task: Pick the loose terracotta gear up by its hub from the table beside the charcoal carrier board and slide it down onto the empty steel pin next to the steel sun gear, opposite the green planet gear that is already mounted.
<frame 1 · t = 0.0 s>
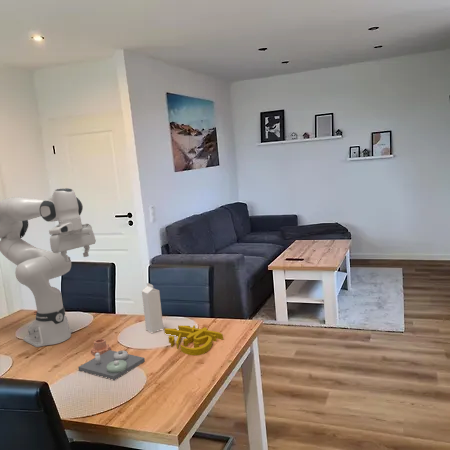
hand: (77, 259, 180), 39 cm above the table, tool pointing down, fingers open, 8 cm apart
decorative art: (187, 341, 184), on the table
milk: (154, 330, 199), on the table
carrier: (112, 365, 165), on the table
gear: (101, 351, 180), on the table
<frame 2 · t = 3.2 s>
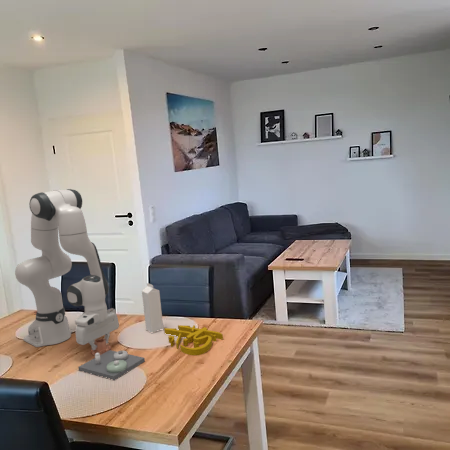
hand: (100, 346, 180), 2 cm above the table, tool pointing down, fingers closed on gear, 5 cm apart
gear: (101, 351, 180), on the table, touching gripper
everything else where it was.
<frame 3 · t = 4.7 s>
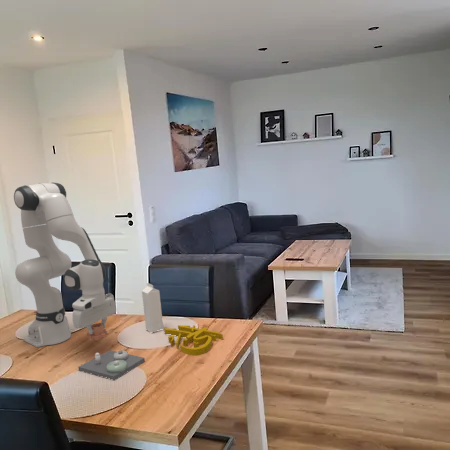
hand: (97, 330, 179), 9 cm above the table, tool pointing down, fingers closed on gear, 5 cm apart
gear: (97, 335, 180), point 7 cm above the table, touching gripper
everything else where it was.
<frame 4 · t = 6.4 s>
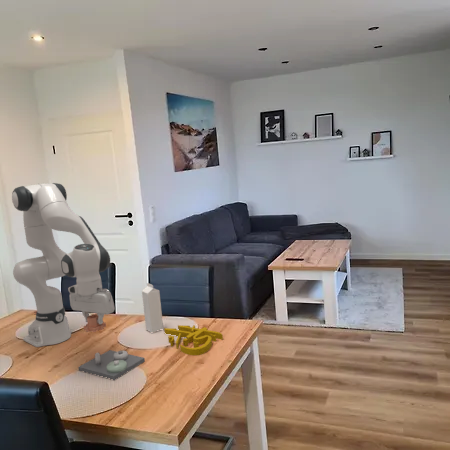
hand: (94, 322, 163), 18 cm above the table, tool pointing down, fingers closed on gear, 5 cm apart
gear: (95, 328, 163), point 16 cm above the table, touching gripper
everything else where it was.
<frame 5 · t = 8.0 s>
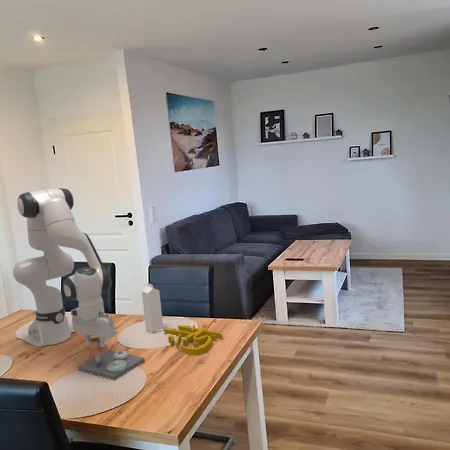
hand: (96, 345, 164), 9 cm above the table, tool pointing down, fingers closed on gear, 5 cm apart
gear: (96, 351, 164), point 7 cm above the table, touching gripper
everything else where it was.
when the fingers open (5 cm above the table, at t = 9.2 s): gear stays where it is, resting on carrier.
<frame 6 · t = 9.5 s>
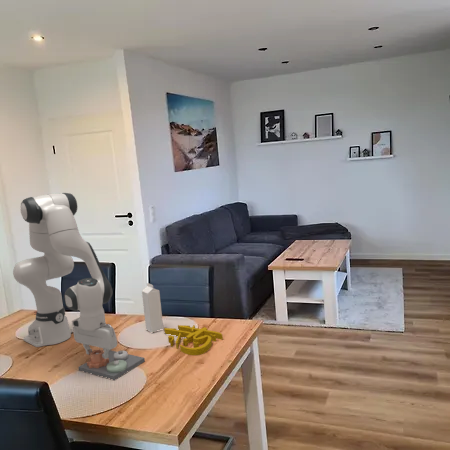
hand: (97, 356, 164), 5 cm above the table, tool pointing down, fingers open, 8 cm apart
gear: (98, 363, 165), point 1 cm above the table, touching carrier
everything else where it was.
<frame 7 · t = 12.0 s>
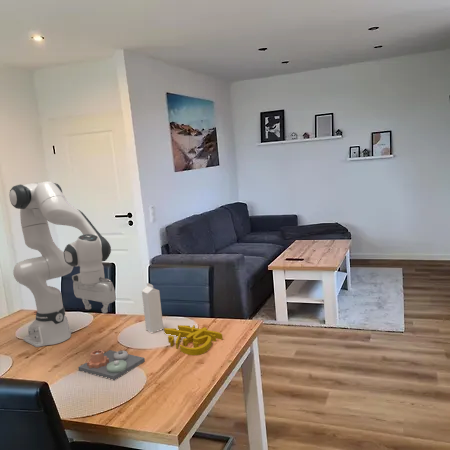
hand: (96, 310, 168), 20 cm above the table, tool pointing down, fingers open, 8 cm apart
nothing on the table moved.
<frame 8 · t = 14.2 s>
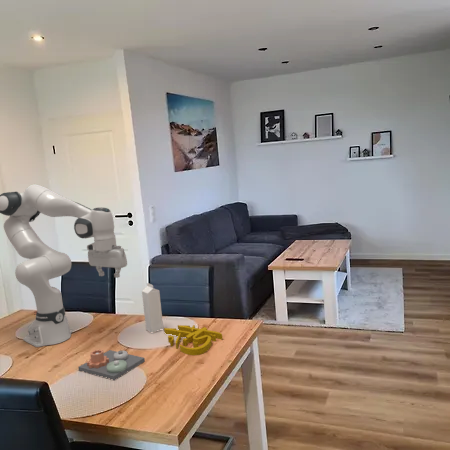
hand: (109, 276, 186), 29 cm above the table, tool pointing down, fingers open, 8 cm apart
nothing on the table moved.
at the end: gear 0.1 cm from the target spot on the carrier, point 1.5 cm above the carrier's base; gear tilted 0°; the gripper is holding nothing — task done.
